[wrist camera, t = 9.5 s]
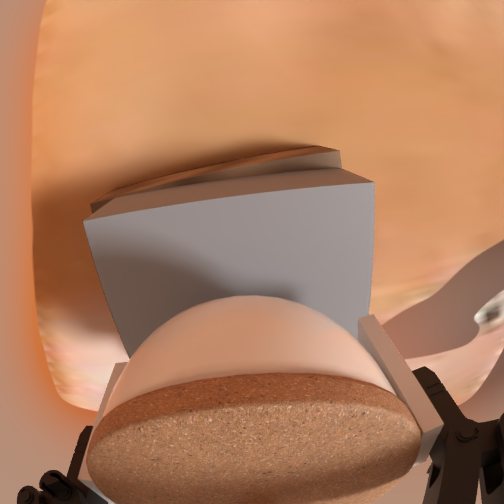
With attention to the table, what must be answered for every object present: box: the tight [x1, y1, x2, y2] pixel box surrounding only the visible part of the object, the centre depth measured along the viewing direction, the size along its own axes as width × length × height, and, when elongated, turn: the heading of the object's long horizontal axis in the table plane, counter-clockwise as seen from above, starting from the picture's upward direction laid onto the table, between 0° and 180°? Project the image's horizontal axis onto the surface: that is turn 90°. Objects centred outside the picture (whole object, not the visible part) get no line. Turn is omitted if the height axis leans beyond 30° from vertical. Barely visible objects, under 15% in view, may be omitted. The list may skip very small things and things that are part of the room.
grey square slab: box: [83, 168, 375, 359], centre depth 19 cm, size 14×14×5 cm
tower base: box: [90, 146, 342, 213], centre depth 23 cm, size 16×16×5 cm
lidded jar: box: [86, 295, 422, 504], centre depth 10 cm, size 11×11×9 cm
